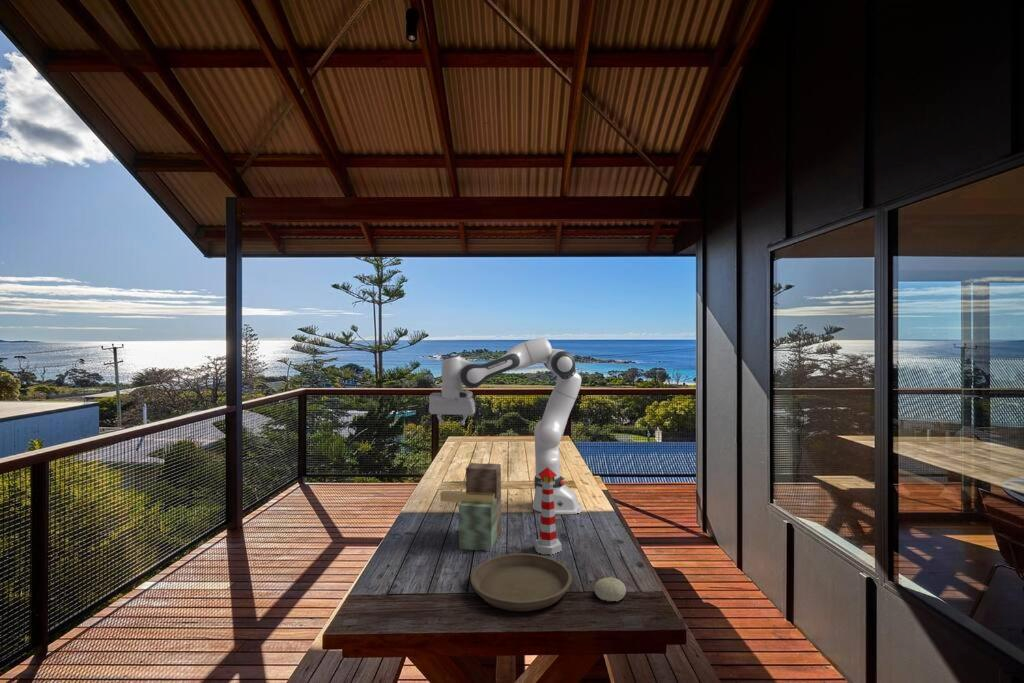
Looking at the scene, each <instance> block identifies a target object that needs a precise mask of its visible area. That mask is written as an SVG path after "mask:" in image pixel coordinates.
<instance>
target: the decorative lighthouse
mask: <svg viewBox="0 0 1024 683" xmlns="http://www.w3.org/2000/svg"><path fill="white" fill-rule="evenodd" d="M539 476H540V477H541V484H542V502H541V512H540V521H539V522H540V523H539V539H535V540H534V541H533V543H534V547H535V548H534V549H535V551H536V552H538V553H537V554H539V553H541V555H546V554H550V555H549V556H553V555H552V554H554V555H556V554H558V553H557V552H559V553H560V551H561V552H562V551H563V548H562V546H563V544H562V543H561V541H560V539H559V538H557V528H556V526H557V525H556V514H555V510H554V495H553V485H554V484H555V481H554V476H557V475H556V474H555V473H554V472H553V471H552V470H550V469H549V468H548V467H547V468H546V469H544V470H543V471H542V472H540V473H539ZM555 553H556V554H555Z"/></svg>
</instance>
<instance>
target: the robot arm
mask: <svg viewBox="0 0 1024 683" xmlns="http://www.w3.org/2000/svg"><path fill="white" fill-rule="evenodd" d="M537 364H544V366H545V367H546V369H547V370H548V371H550V372H551V373H553V374H555V375H556V383H555V384H554V387H553V390H552V391H551V394H550V396H549V399H548V400H547V403H546V405H545V410H544V412H543V415H542V418H541V420H539V421H538V422H537V423H536V424H535V427H534V431H533V432H534V454H535V455H534V456H535V474H534V475H535V476H534V478H533V479H534V480H533V482H534V483H533V484H534V485H533V486H534V497H533V501H532V505H531V506H532V507H531V508H532V510H534V511H536V512H540V513H541V502H542V484H541V477H540V476H539V473H540V472H542V471H543V470H544V469H546V468H547V467H548V468H549V469H550V470H552V471H553V472H554V473H555V474H556V475H557V476H554V481H555V484H554V485H553V495H554V510H555V515H578V514H577V513H579V514H580V513H581V512H582V511H583V505H582V503H581V502H579V501H578V498H577V494H576V493H575V491H573V490H572V489H570V487H568V486H567V485H566V484H565V483H566V481H565V476H561V458H560V457H561V456H560V443H561V441H562V437H563V436H564V435H563V434H564V433H565V429H566V426H567V424H568V419H569V417H570V414H571V411H572V409H573V407H574V405H575V402H576V401H577V398H578V395H579V392H580V390H581V389H580V388H581V385H582V376H581V375H580V374H579V373H578V372H577V370H576V360H575V358H574V356H573V355H572V353H570V351H569V352H568V351H567V350H564V349H559V348H553V347H552V345H551V343H550V341H549V340H548V339H546V338H544V337H540V338H539V337H538V338H534V339H530V340H526V341H523V342H521V343H519V344H516V345H514V346H512V347H511V348H509V349H508V351H507V352H506V353H505V354H504V355H502V356H500V357H498V358H496V359H493V360H491V361H487V362H485V363H480V364H478V363H475V362H472V361H469V360H467V359H466V358H464V357H462V356H460V355H459V354H458V355H457V354H456V355H450V356H447V357H445V358H444V359H442V363H441V379H442V382H441V392H432V393H430V394H429V395H428V402H429V406H428V413H429V414H430V415H436V417H437V419H438V422H439V425H441V426H442V425H444V424H445V419H442V415H454V416H455V415H456V416H458V415H459V416H462V418H463V419H461V420H460V421H459V422H460V425H461V426H465V423H466V422H465V421H466V420H467V418H468V416H472V415H474V414H475V413H476V402H475V399H474V398H473V394H474V393H473V392H472V391H471V390H467V389H465V388H463V385H464V386H465V387H467V388H470V389H475V388H478V387H480V386H481V385H483V383H485V382H486V381H487V380H488V379H490V378H492V377H495V376H498V375H500V374H504V373H505V372H509V371H515V370H516V371H517V370H521V369H525V368H530V367H533V366H534V365H537Z"/></svg>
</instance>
